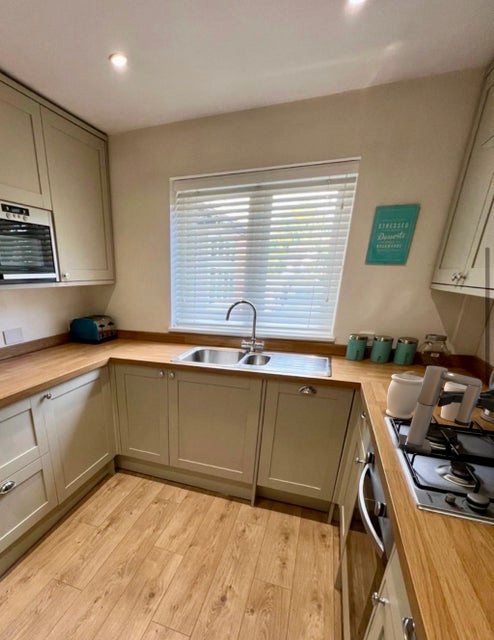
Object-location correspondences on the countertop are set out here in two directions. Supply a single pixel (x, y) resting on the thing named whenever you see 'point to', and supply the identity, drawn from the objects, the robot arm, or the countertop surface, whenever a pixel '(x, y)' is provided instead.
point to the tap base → (414, 447)
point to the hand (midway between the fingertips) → (467, 410)
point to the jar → (403, 395)
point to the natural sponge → (412, 373)
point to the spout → (434, 386)
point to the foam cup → (452, 409)
